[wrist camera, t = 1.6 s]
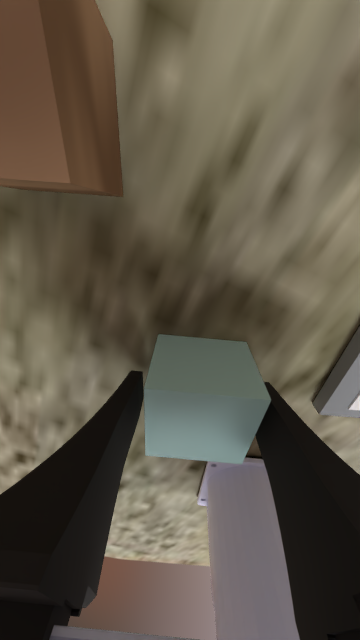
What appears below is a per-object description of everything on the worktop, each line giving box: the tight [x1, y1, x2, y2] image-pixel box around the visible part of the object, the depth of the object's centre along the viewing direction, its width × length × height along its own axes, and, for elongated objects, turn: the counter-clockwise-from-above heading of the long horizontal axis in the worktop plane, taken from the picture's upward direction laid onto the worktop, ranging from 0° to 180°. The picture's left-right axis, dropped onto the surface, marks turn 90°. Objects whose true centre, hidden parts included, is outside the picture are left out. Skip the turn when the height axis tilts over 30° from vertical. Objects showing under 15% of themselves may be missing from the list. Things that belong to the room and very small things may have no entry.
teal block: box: [144, 334, 271, 464], centre depth 10 cm, size 5×5×4 cm
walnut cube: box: [0, 0, 123, 197], centre depth 5 cm, size 4×4×4 cm
